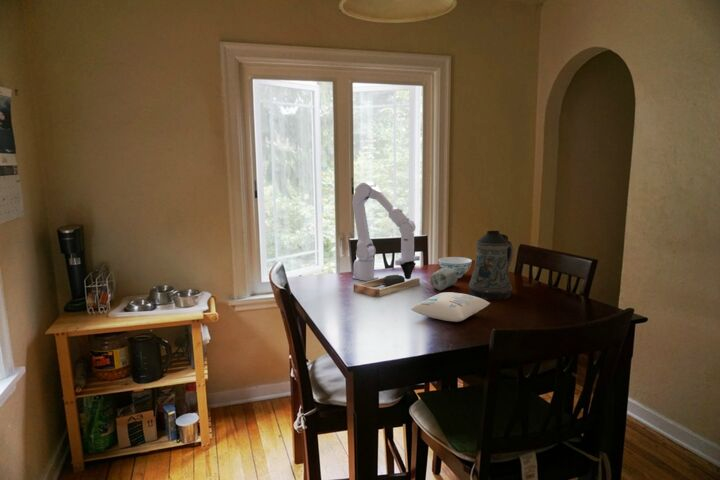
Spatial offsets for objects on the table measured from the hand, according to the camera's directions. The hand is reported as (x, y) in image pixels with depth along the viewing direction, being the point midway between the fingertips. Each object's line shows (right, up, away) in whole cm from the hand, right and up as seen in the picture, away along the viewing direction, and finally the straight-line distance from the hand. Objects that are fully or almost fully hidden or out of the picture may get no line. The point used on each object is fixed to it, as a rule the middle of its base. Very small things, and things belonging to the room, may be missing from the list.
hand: (407, 278), depth 202 cm
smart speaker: (-6, -3, -6) cm, 9 cm away
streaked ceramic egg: (+14, -3, -11) cm, 18 cm away
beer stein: (+31, -4, -21) cm, 38 cm away
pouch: (+9, -9, -49) cm, 51 cm away
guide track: (-10, -3, -9) cm, 14 cm away
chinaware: (+23, 0, +8) cm, 24 cm away
